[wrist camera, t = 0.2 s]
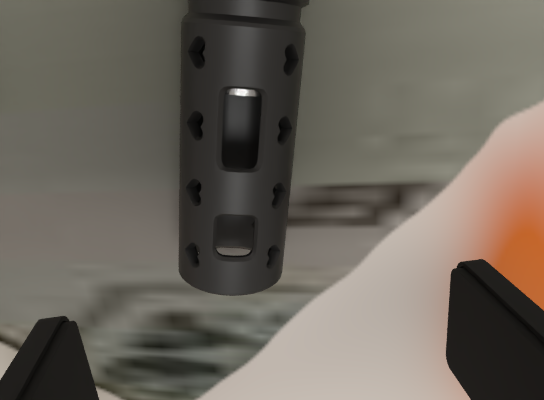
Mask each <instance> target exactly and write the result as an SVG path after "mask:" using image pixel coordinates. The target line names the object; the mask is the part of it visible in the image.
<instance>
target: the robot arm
mask: <svg viewBox="0 0 544 400" xmlns="http://www.w3.org/2000/svg"><path fill="white" fill-rule="evenodd" d="M446 359H447V363H448V365H449V368H450V370H451V371H452V373H453V374H454V375H455V377H456V378H457V380H458V381H459V383H460V384H461V386H462V387H463V389H464V390H465V391H466V393H467V394H468V396H469V397H470V399H471V400H544V311H543V310H542V309H541V308H540V307H539V306H538V305H536V304H535V303H534V302H533V301H532V300H530V298H528V297H527V296H526V295H525V294H524V293H522V292H521V291H520V290H519V289H518V288H517V287H515V286H514V285H513V284H512V283H511V282H510V281H509V280H507V279H506V278H505V277H504V276H503V275H502V274H500V273H499V272H498V271H497V270H496V269H495V268H493V267H492V266H491V265H490V264H489V263H488V262H486V261H485V260H483V259H479V260H472V261H465V262H460V263H459V264H458V266H457V268H456V269H453V270H452V272H451V282H450V297H449V312H448V328H447V344H446ZM0 400H99V398H98V394H97V391H96V387H95V384H94V380H93V377H92V374H91V370H90V367H89V363H88V360H87V357H86V353H85V350H84V346H83V343H82V339H81V336H80V333H79V329H78V326H77V323H76V322H75V321H69V319H68V318H67V317H66V316H60V317H53V318H45V319H40V320H38V322H37V323H36V324H35V326H34V327H33V329H32V331H31V332H30V334H29V335H28V337H27V339H26V340H25V342H24V343H23V345H22V347H21V348H20V350H19V351H18V353H17V355H16V356H15V358H14V359H13V361H12V362H11V364H10V366H9V367H8V369H7V370H6V372H5V374H4V375H3V377H2V378H1V380H0Z"/></svg>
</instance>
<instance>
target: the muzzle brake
mask: <svg viewBox="0 0 544 400" xmlns="http://www.w3.org/2000/svg"><path fill="white" fill-rule="evenodd" d="M308 4H309V0H189V13H188V14H187V15H186V16H185V17H184V18H183V19H182V22H181V95H180V103H181V114H180V190H179V273H180V275H181V277H182V278H183V279H184V280H185V281H186V282H187V283H189V284H190V285H191V286H193V287H195V288H197V289H199V290H202V291H205V292H208V293H213V294H218V295H230V296H235V295H247V294H253V293H257V292H260V291H263V290H265V289H267V288H269V287H271V286H273V285H274V284H275V283H277V281H278V280H279V279H280V277H281V274H282V266H283V256H284V246H285V236H286V226H287V216H288V206H289V196H290V186H291V176H292V166H293V156H294V146H295V135H296V125H297V115H298V105H299V95H300V85H301V75H302V65H303V55H304V45H305V35H306V32H305V29H304V28H303V26H302V25H301V24H300V15H301V8H302V7H304V6H307V5H308ZM220 247H224V248H243V249H248V250H251V251H250V253H249V254H247V255H243V256H230V255H222V254H220V253H218V251H217V250H216V248H220ZM198 252H199V254H198Z"/></svg>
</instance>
